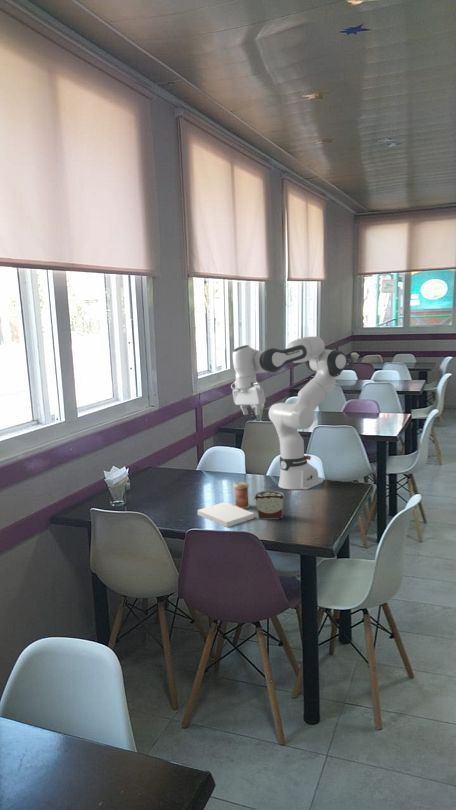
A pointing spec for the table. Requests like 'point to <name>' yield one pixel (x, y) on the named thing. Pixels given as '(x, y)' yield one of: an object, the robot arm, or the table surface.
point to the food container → (269, 504)
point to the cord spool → (241, 495)
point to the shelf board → (225, 514)
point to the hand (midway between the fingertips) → (251, 414)
